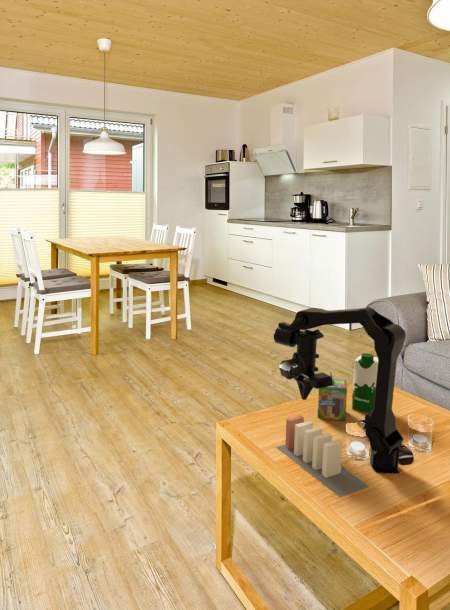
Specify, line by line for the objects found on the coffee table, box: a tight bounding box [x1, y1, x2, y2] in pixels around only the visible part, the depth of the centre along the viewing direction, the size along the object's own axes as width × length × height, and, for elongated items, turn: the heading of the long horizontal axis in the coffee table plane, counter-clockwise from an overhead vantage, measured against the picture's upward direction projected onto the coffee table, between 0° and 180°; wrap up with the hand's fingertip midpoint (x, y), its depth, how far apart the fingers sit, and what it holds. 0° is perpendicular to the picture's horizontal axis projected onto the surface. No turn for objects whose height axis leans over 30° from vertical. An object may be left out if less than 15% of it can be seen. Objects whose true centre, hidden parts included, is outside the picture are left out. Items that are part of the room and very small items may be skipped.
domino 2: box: [294, 420, 314, 456], centre depth 144 cm, size 2×5×9 cm, turn 118°
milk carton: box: [351, 352, 378, 414], centre depth 175 cm, size 9×9×20 cm
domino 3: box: [303, 426, 323, 463], centre depth 140 cm, size 2×5×9 cm, turn 118°
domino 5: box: [322, 439, 343, 478], centre depth 133 cm, size 2×5×9 cm, turn 119°
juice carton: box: [317, 371, 348, 422], centre depth 170 cm, size 9×9×15 cm
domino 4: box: [312, 432, 333, 470], centre depth 137 cm, size 2×5×9 cm, turn 118°
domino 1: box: [284, 415, 305, 450], centre depth 148 cm, size 2×5×9 cm, turn 118°
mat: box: [275, 444, 371, 498], centre depth 138 cm, size 28×10×1 cm, turn 29°
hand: (304, 399), depth 153 cm, fingers closed
